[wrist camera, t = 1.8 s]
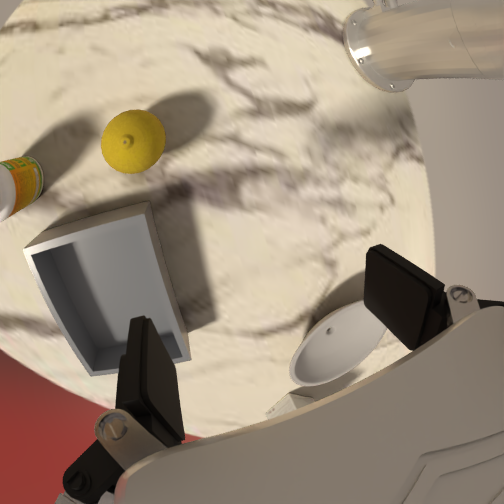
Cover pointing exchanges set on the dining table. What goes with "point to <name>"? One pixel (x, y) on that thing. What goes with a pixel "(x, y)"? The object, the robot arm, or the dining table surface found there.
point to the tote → (107, 285)
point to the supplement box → (288, 405)
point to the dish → (336, 345)
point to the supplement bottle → (19, 184)
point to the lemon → (133, 141)
